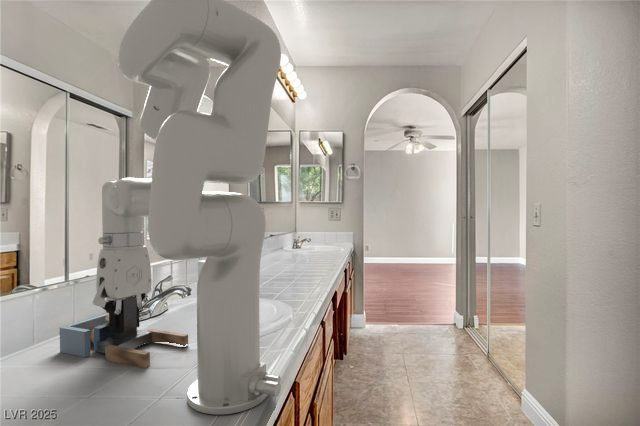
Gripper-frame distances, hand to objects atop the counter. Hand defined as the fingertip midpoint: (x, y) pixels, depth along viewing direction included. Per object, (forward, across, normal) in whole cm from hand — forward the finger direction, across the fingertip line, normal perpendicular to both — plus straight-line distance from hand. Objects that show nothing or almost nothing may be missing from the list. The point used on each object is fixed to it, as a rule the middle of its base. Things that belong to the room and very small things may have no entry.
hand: (124, 328), depth 78 cm
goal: (+4, 0, +6) cm, 8 cm away
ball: (+2, 0, +7) cm, 7 cm away
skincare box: (+4, +27, -2) cm, 27 cm away
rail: (+4, 0, -6) cm, 8 cm away
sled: (+4, 0, +1) cm, 4 cm away
